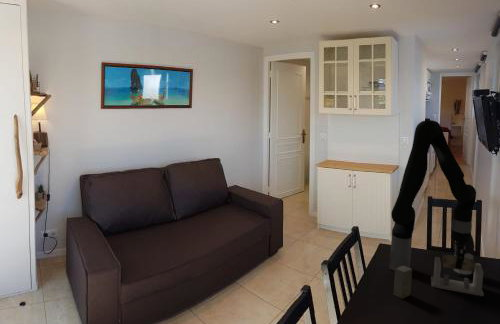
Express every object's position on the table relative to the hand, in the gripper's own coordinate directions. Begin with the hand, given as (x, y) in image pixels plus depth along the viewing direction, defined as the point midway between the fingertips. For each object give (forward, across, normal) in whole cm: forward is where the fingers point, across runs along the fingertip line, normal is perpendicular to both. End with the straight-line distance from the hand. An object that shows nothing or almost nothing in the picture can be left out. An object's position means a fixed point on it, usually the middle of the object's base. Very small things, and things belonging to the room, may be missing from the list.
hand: (458, 265), depth 160 cm
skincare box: (+10, +18, -22) cm, 30 cm away
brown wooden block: (+1, 0, 0) cm, 1 cm away
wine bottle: (+10, -16, +4) cm, 19 cm away
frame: (+10, 0, 0) cm, 10 cm away
